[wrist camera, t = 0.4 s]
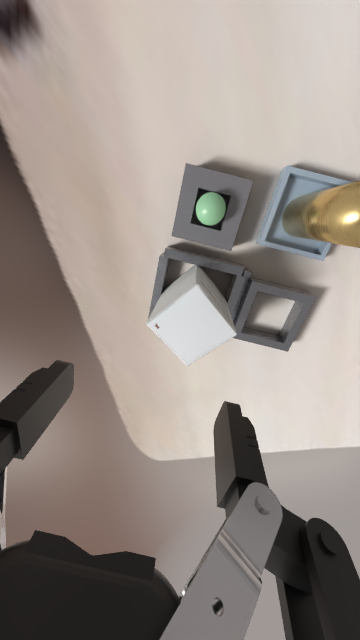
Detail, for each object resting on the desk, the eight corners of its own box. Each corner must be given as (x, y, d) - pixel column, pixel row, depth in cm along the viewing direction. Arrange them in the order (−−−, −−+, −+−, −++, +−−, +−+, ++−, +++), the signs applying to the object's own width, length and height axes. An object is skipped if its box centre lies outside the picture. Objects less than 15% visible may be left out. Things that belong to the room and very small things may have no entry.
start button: (200, 192, 27) (200, 188, 24) (226, 198, 27) (229, 196, 24) (193, 221, 28) (192, 221, 26) (218, 227, 29) (220, 228, 26)
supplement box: (190, 323, 37) (185, 368, 26) (162, 290, 35) (143, 323, 24) (226, 298, 35) (239, 336, 23) (198, 260, 33) (197, 282, 21)
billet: (291, 190, 28) (368, 165, 15) (329, 200, 28) (438, 183, 15) (275, 232, 30) (331, 240, 17) (310, 241, 30) (392, 255, 17)
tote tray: (281, 169, 27) (287, 165, 25) (351, 187, 27) (361, 184, 26) (255, 243, 31) (258, 244, 29) (316, 258, 31) (323, 260, 29)
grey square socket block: (187, 169, 28) (186, 163, 25) (247, 185, 28) (253, 180, 25) (174, 234, 31) (171, 235, 28) (228, 247, 32) (231, 250, 28)
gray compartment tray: (164, 245, 32) (161, 247, 30) (313, 282, 33) (321, 287, 30) (150, 319, 37) (147, 325, 35) (278, 350, 38) (283, 358, 35)
